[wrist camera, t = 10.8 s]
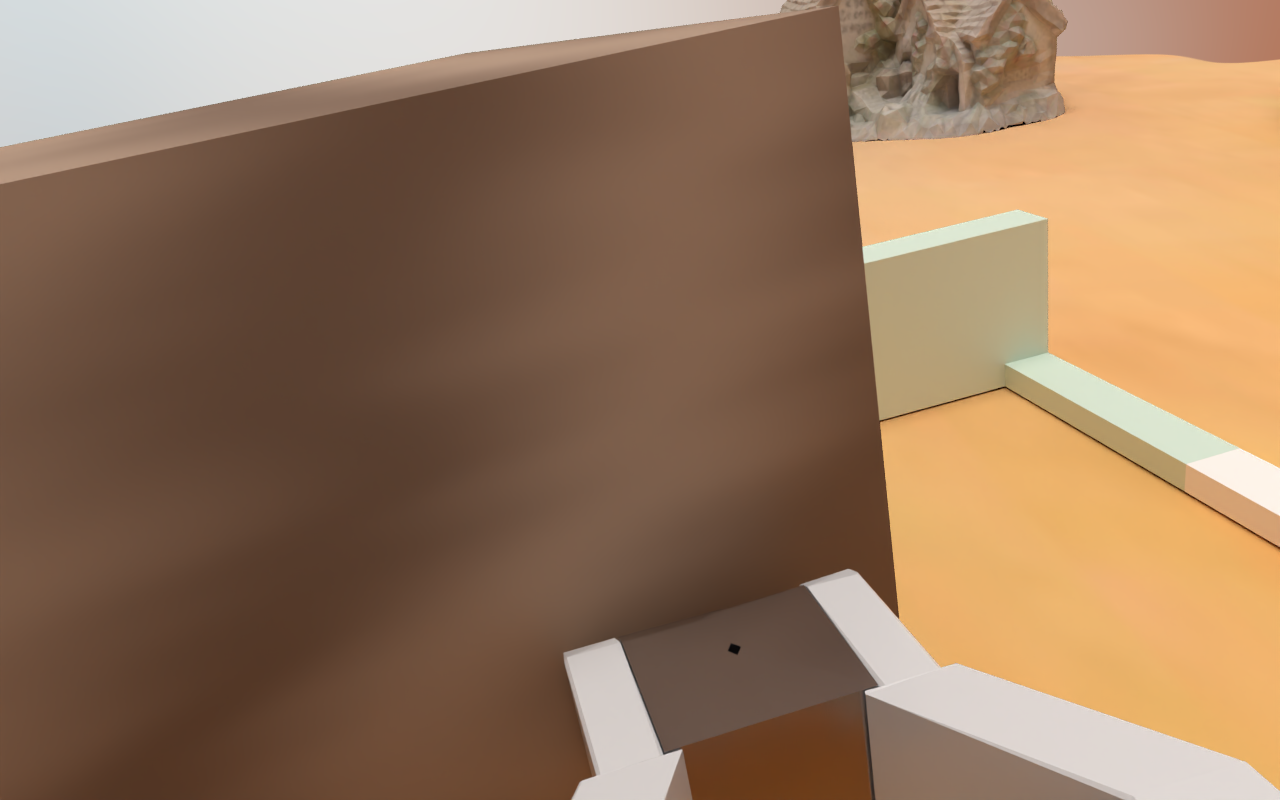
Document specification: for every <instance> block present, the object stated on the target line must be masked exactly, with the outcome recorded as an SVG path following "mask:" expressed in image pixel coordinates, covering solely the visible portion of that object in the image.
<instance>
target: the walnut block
mask: <svg viewBox="0 0 1280 800" xmlns="http://www.w3.org/2000/svg"><path fill="white" fill-rule="evenodd" d="M846 569H851V570H853V571H856V572H858V573H859V574H860V575H861V576H862V578H863V579H864V580H865V581H866V582H867V583H868V584H869V586H870V587H871V588H872V589H873V590H874V591H875V593H876V594H877V595H878V596H879V597H880V598H881V599H882V601H883V602H884V603H885V604H886V605H887V606H888V607H889V609H890V610H891V611H892V612H893V613H894V614H895V615H896V617H897V618H898V619H899V613H898V602H897V592H896V582H895V572H894V562H893V552H892V542H891V532H890V521H889V511H888V501H887V491H886V481H885V471H884V461H883V451H882V440H881V430H880V420H879V410H878V400H877V390H876V380H875V369H874V359H873V349H872V339H871V329H870V319H869V309H868V299H867V288H866V278H865V268H864V258H863V248H862V238H861V228H860V218H859V207H858V197H857V187H856V177H855V167H854V157H853V147H852V137H851V126H850V116H849V106H848V96H847V86H846V76H845V66H844V56H843V45H842V35H841V25H840V15H839V6H833V7H825V8H817V9H809V10H801V11H794V12H786V13H778V14H770V15H762V16H754V17H747V18H739V19H731V20H723V21H715V22H707V23H699V24H692V25H684V26H676V27H668V28H661V29H653V30H645V31H637V32H629V33H621V34H613V35H606V36H598V37H590V38H582V39H574V40H566V41H559V42H551V43H543V44H535V45H527V46H519V47H512V48H504V49H496V50H488V51H480V52H472V53H465V54H461V55H455V56H450V57H445V58H440V59H435V60H430V61H426V62H421V63H416V64H411V65H406V66H401V67H396V68H391V69H386V70H381V71H376V72H371V73H366V74H361V75H356V76H352V77H347V78H341V79H337V80H331V81H326V82H321V83H317V84H312V85H307V86H302V87H297V88H292V89H287V90H282V91H277V92H272V93H267V94H262V95H257V96H252V97H248V98H242V99H237V100H233V101H227V102H222V103H218V104H213V105H208V106H203V107H198V108H193V109H188V110H183V111H179V112H173V113H169V114H163V115H158V116H153V117H148V118H144V119H138V120H133V121H128V122H123V123H118V124H114V125H109V126H104V127H99V128H94V129H89V130H84V131H79V132H74V133H69V134H64V135H59V136H54V137H49V138H44V139H39V140H34V141H29V142H24V143H19V144H15V145H10V146H5V147H0V800H571V799H572V797H573V795H574V793H575V791H576V789H577V787H578V785H579V782H581V781H582V780H586V779H589V778H592V774H591V770H590V766H589V762H588V758H587V754H586V750H585V745H584V741H583V737H582V733H581V729H580V725H579V721H578V717H577V713H576V709H575V705H574V700H573V696H572V692H571V688H570V684H569V680H568V676H567V672H566V668H565V664H564V655H563V653H564V652H568V651H571V650H574V649H578V648H581V647H585V646H588V645H592V644H595V643H599V642H602V641H606V640H609V639H612V638H615V639H617V640H618V637H619V636H623V635H627V634H631V633H634V632H638V631H642V630H645V629H649V628H653V627H657V626H660V625H664V624H668V623H671V622H675V621H679V620H683V619H686V618H690V617H694V616H697V615H701V614H705V613H709V612H712V611H716V610H720V609H722V610H723V609H726V608H730V607H733V606H736V605H740V604H743V603H746V602H750V601H753V600H756V599H759V598H763V597H766V596H769V595H773V594H776V593H779V592H783V591H786V590H789V589H793V588H796V587H799V585H800V584H803V583H806V582H809V581H812V580H815V579H818V578H821V577H824V576H828V575H831V574H834V573H837V572H840V571H843V570H846Z"/></svg>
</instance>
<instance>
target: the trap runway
mask: <svg viewBox="0 0 1280 800" xmlns="http://www.w3.org/2000/svg"><path fill="white" fill-rule="evenodd" d="M862 248H863V258H864V268H865V278H866V288H867V299H868V309H869V319H870V329H871V339H872V349H873V359H874V369H875V380H876V390H877V400H878V410H879V420H884V419H887V418H891V417H895V416H898V415H902V414H906V413H909V412H913V411H917V410H920V409H924V408H928V407H931V406H935V405H939V404H942V403H946V402H950V401H953V400H957V399H961V398H964V397H968V396H972V395H975V394H979V393H982V392H986V391H990V390H993V389H997V388H1001V387H1004V386H1006V387H1007V388H1009V389H1011V390H1012V391H1014V392H1016V393H1018V394H1019V395H1021V396H1023V397H1024V398H1026V399H1028V400H1030V401H1031V402H1033V403H1035V404H1036V405H1038V406H1040V407H1041V408H1043V409H1045V410H1047V411H1048V412H1050V413H1052V414H1053V415H1055V416H1057V417H1058V418H1060V419H1062V420H1064V421H1065V422H1067V423H1069V424H1070V425H1072V426H1074V427H1076V428H1077V429H1079V430H1081V431H1082V432H1084V433H1086V434H1087V435H1089V436H1091V437H1093V438H1094V439H1096V440H1098V441H1099V442H1101V443H1103V444H1105V445H1106V446H1108V447H1110V448H1111V449H1113V450H1115V451H1116V452H1118V453H1120V454H1122V455H1123V456H1125V457H1127V458H1128V459H1130V460H1132V461H1134V462H1135V463H1137V464H1139V465H1140V466H1142V467H1144V468H1145V469H1147V470H1149V471H1151V472H1152V473H1154V474H1156V475H1157V476H1159V477H1161V478H1163V479H1164V480H1166V481H1168V482H1169V483H1171V484H1173V485H1174V486H1176V487H1178V488H1180V489H1181V490H1183V491H1185V492H1186V493H1188V494H1190V495H1192V496H1193V497H1195V498H1197V499H1198V500H1200V501H1202V502H1203V503H1205V504H1207V505H1209V506H1210V507H1212V508H1214V509H1215V510H1217V511H1219V512H1220V513H1222V514H1224V515H1226V516H1227V517H1229V518H1231V519H1232V520H1234V521H1236V522H1238V523H1239V524H1241V525H1243V526H1244V527H1246V528H1248V529H1249V530H1251V531H1253V532H1255V533H1256V534H1258V535H1260V536H1261V537H1263V538H1265V539H1267V540H1268V541H1270V542H1272V543H1273V544H1275V545H1277V546H1278V547H1280V468H1278V467H1276V466H1274V465H1272V464H1270V463H1268V462H1266V461H1264V460H1262V459H1260V458H1258V457H1256V456H1254V455H1252V454H1250V453H1248V452H1246V451H1244V450H1242V449H1240V448H1238V447H1236V446H1234V445H1232V444H1230V443H1228V442H1226V441H1224V440H1222V439H1220V438H1218V437H1216V436H1214V435H1212V434H1210V433H1208V432H1206V431H1204V430H1202V429H1200V428H1198V427H1196V426H1194V425H1192V424H1190V423H1188V422H1186V421H1184V420H1182V419H1180V418H1178V417H1176V416H1174V415H1172V414H1170V413H1168V412H1166V411H1164V410H1162V409H1160V408H1158V407H1156V406H1154V405H1152V404H1150V403H1148V402H1146V401H1144V400H1142V399H1140V398H1138V397H1136V396H1134V395H1132V394H1130V393H1128V392H1126V391H1124V390H1122V389H1120V388H1118V387H1116V386H1114V385H1112V384H1110V383H1108V382H1106V381H1104V380H1102V379H1100V378H1098V377H1096V376H1094V375H1092V374H1090V373H1088V372H1086V371H1084V370H1082V369H1080V368H1078V367H1076V366H1074V365H1072V364H1070V363H1068V362H1066V361H1064V360H1062V359H1060V358H1058V357H1056V356H1054V355H1052V354H1050V353H1048V219H1047V218H1044V217H1040V216H1037V215H1034V214H1030V213H1027V212H1024V211H1021V210H1014V211H1010V212H1006V213H1002V214H998V215H993V216H989V217H985V218H981V219H977V220H973V221H968V222H964V223H960V224H956V225H952V226H948V227H944V228H939V229H935V230H931V231H927V232H923V233H919V234H914V235H910V236H906V237H902V238H898V239H894V240H890V241H885V242H881V243H877V244H873V245H869V246H865V247H862Z"/></svg>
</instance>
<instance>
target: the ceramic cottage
mask: <svg viewBox="0 0 1280 800" xmlns="http://www.w3.org/2000/svg"><path fill="white" fill-rule="evenodd" d="M833 6H839V15H840V25H841V35H842V45H843V56H844V66H845V76H846V86H847V96H848V106H849V116H850V126H851V137H852V142H857V141H869V140H875V141H877V139H880V140H883V141H885V140H887V139H888V140H906V139H908V140H911V139H913V140H915V139H941V138H952V137H962V136H970V135H977V134H982V133H983V130H984V131H986V132H993V131H994V129H995V130H997V131H999V130H1000V128H1001V127H1004V128H1005V129H1006V128H1007V126H1008V125H1015V124H1022V123H1023V121H1024V122H1025V123H1026V125H1027V124H1029V123H1031V122H1037V121H1039V120H1041V121H1045V120H1048V119H1053V118H1055V116H1057V117H1058V116H1060V115H1062V113H1063V114H1064V112H1065V107H1064V101H1063V98H1062V96H1061V94H1060V93H1059V92H1058V91H1057V88H1056V86H1055V83H1054V73H1055V61H1056V52H1057V37H1058V36H1059V35H1060V34H1061V33H1062V32H1063V31H1064V30H1065V29H1066V26H1067V23H1068V21H1067V20H1066V18H1065V17H1064V15H1063V12H1062V10H1058V8H1057V6H1055V5H1053V3H1052V0H787V2H786V3H784V4H783V5H782V8H781V12H780V13H786V12H794V11H801V10H809V9H817V8H825V7H833Z"/></svg>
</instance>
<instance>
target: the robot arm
mask: <svg viewBox="0 0 1280 800" xmlns="http://www.w3.org/2000/svg"><path fill="white" fill-rule="evenodd" d="M563 655H564V664H565V668H566V672H567V676H568V680H569V684H570V688H571V692H572V696H573V700H574V705H575V709H576V713H577V717H578V721H579V725H580V729H581V733H582V737H583V741H584V745H585V750H586V754H587V758H588V762H589V766H590V770H591V774H592V778H589V779H586V780H582V781H581V782H579V785H578V787H577V789H576V791H575V793H574V795H573V797H572V799H571V800H1280V791H1279V790H1278V789H1277V788H1276V787H1274V786H1273V785H1272V784H1271V783H1270V782H1269V781H1267V780H1266V779H1265V778H1264V777H1263V776H1262V775H1260V774H1259V773H1258V772H1257V771H1256V770H1255V769H1254V768H1252V767H1251V766H1250V765H1249V764H1248V763H1247V762H1244V761H1241V760H1238V759H1235V758H1233V757H1230V756H1227V755H1224V754H1221V753H1218V752H1215V751H1212V750H1209V749H1206V748H1203V747H1200V746H1197V745H1195V744H1192V743H1189V742H1186V741H1183V740H1180V739H1177V738H1174V737H1171V736H1168V735H1165V734H1162V733H1159V732H1156V731H1154V730H1151V729H1148V728H1145V727H1142V726H1139V725H1136V724H1133V723H1130V722H1127V721H1124V720H1121V719H1118V718H1115V717H1113V716H1110V715H1107V714H1104V713H1101V712H1098V711H1095V710H1092V709H1089V708H1086V707H1083V706H1080V705H1077V704H1074V703H1072V702H1069V701H1066V700H1063V699H1060V698H1057V697H1054V696H1051V695H1048V694H1045V693H1042V692H1039V691H1036V690H1033V689H1031V688H1028V687H1025V686H1022V685H1019V684H1016V683H1013V682H1010V681H1007V680H1004V679H1001V678H998V677H995V676H992V675H990V674H987V673H984V672H981V671H978V670H975V669H972V668H969V667H966V666H963V665H960V664H957V663H955V664H952V665H949V666H945V667H942V668H941V667H940V666H939V665H938V663H937V662H936V661H935V660H934V659H933V658H932V657H931V655H930V654H929V653H928V652H927V651H926V650H925V649H924V647H923V646H922V645H921V644H920V643H919V642H918V641H917V639H916V638H915V637H914V636H913V635H912V634H911V633H910V631H909V630H908V629H907V628H906V627H905V626H904V625H903V623H902V622H901V621H900V620H899V619H898V618H897V617H896V615H895V614H894V613H893V612H892V611H891V610H890V609H889V607H888V606H887V605H886V604H885V603H884V602H883V601H882V599H881V598H880V597H879V596H878V595H877V594H876V593H875V591H874V590H873V589H872V588H871V587H870V586H869V584H868V583H867V582H866V581H865V580H864V579H863V578H862V576H861V575H860V574H859V573H858V572H856V571H853V570H851V569H846V570H843V571H840V572H837V573H834V574H831V575H828V576H824V577H821V578H818V579H815V580H812V581H809V582H806V583H803V584H800V585H799V587H796V588H793V589H789V590H786V591H783V592H779V593H776V594H773V595H769V596H766V597H763V598H759V599H756V600H753V601H750V602H746V603H743V604H740V605H736V606H733V607H730V608H726V609H723V610H722V609H720V610H716V611H712V612H709V613H705V614H701V615H697V616H694V617H690V618H686V619H683V620H679V621H675V622H671V623H668V624H664V625H660V626H657V627H653V628H649V629H645V630H642V631H638V632H634V633H631V634H627V635H623V636H619V637H618V640H617V639H615V638H612V639H609V640H606V641H602V642H599V643H595V644H592V645H588V646H585V647H581V648H578V649H574V650H571V651H568V652H564V653H563Z"/></svg>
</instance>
